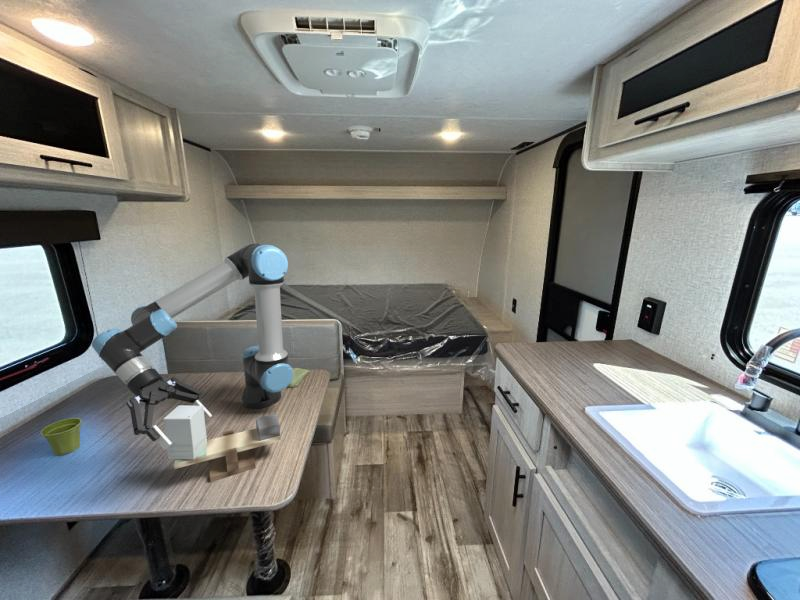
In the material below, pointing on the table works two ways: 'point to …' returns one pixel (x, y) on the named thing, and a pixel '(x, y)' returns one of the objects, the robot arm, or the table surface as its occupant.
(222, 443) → the seesaw beam
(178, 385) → the robot arm
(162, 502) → the table surface
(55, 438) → the plant pot
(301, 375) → the washcloth
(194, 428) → the supplement box
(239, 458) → the fulcrum stand
